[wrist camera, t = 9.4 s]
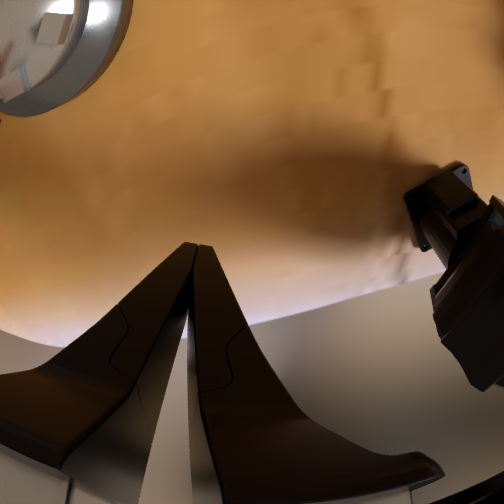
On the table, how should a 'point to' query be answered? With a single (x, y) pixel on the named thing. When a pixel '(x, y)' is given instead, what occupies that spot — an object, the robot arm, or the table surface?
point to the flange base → (79, 60)
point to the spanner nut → (37, 41)
